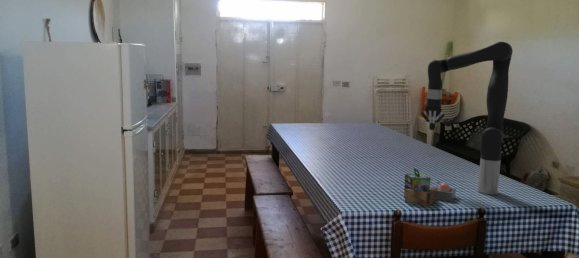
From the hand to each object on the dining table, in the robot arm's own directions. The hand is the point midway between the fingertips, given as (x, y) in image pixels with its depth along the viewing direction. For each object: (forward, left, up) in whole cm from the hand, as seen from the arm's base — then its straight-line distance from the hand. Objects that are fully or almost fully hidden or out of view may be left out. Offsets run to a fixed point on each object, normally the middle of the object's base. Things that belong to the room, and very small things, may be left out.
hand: (432, 130), depth 231 cm
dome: (-13, +25, -28) cm, 40 cm away
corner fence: (-5, +37, -29) cm, 48 cm away
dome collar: (-13, +25, -29) cm, 40 cm away
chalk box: (-3, +35, -29) cm, 46 cm away
